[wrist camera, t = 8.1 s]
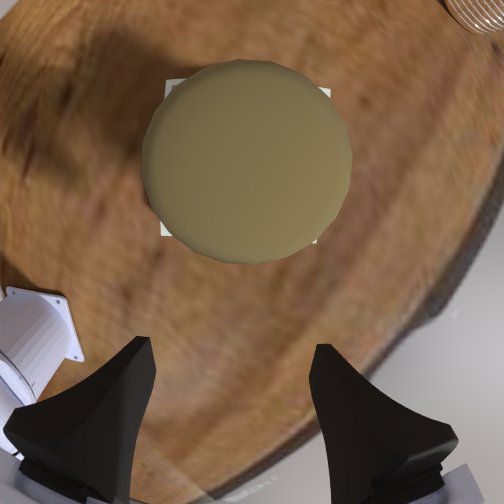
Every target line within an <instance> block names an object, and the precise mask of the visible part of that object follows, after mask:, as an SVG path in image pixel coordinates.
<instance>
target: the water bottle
mask: <svg viewBox="0 0 504 504" xmlns="http://www.w3.org/2000/svg"><path fill="white" fill-rule="evenodd" d="M443 2H444V4H445V6H446V7H447V9H448V10H449V12H450V13H451V14H452V16H453V17H454V18H455V19H456V20H457V21H458V22H459V23H460V24H461V25H462V26H463V27H464V28H465V29H467V30H468V31H470V32H472V33H474V34H479V35H481V34H487V33H491V32H495V31H499V30H502V29H504V0H443Z"/></svg>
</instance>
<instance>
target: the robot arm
mask: <svg viewBox="0 0 504 504" xmlns="http://www.w3.org/2000/svg"><path fill="white" fill-rule="evenodd" d="M6 292H7V297H6V298H5V299H3V300H2V301H1V302H0V501H1V502H2V503H3V504H129V497H130V481H131V470H132V463H133V456H134V450H135V444H136V439H137V435H138V431H139V427H140V424H141V422H142V419H143V416H144V413H145V410H146V407H147V404H148V401H149V398H150V396H151V393H152V389H153V385H154V380H155V375H156V367H155V362H154V357H153V352H152V346H151V341H150V337H143V336H136V337H135V338H134V339H133V340H132V341H131V342H129V343H128V344H127V345H126V346H125V347H124V348H123V349H122V350H121V351H119V352H118V353H117V354H116V355H115V356H114V357H113V358H112V359H110V360H109V361H108V362H107V363H106V364H104V365H103V366H102V367H101V368H99V369H98V370H97V371H95V372H94V373H93V374H92V375H90V376H89V377H87V378H86V379H84V380H83V381H81V382H80V383H78V384H76V385H75V386H73V387H71V388H69V389H67V390H65V391H63V392H61V393H59V394H57V395H55V396H53V397H50V398H48V399H45V400H43V401H40V402H36V401H37V399H38V397H39V396H40V394H41V393H42V391H43V389H44V388H45V386H46V385H47V383H48V382H49V380H50V379H51V377H52V376H53V374H54V373H55V371H56V370H57V368H58V367H59V365H60V364H61V362H62V361H63V359H64V358H68V359H72V360H76V361H80V362H83V360H84V356H83V353H82V350H81V347H80V344H79V341H78V338H77V335H76V332H75V328H74V325H73V322H72V318H71V315H70V311H69V307H68V303H67V300H66V298H65V297H63V296H59V295H53V294H47V293H41V292H36V291H30V290H25V289H20V288H15V287H10V286H8V287H7V288H6ZM58 300H59V301H58ZM309 383H310V389H311V395H312V399H313V403H314V406H315V410H316V413H317V416H318V420H319V423H320V426H321V430H322V433H323V437H324V440H325V446H326V452H327V459H328V467H329V475H330V487H331V504H483V503H484V502H485V500H484V498H483V496H482V494H481V492H480V489H479V487H478V485H477V483H476V481H475V479H474V477H473V475H472V473H471V471H470V469H469V467H468V465H467V464H463V465H461V466H460V467H458V468H456V469H454V470H452V471H450V472H448V473H447V474H445V475H444V476H441V474H440V471H442V469H443V467H442V465H441V462H442V461H443V460H444V459H445V458H446V457H447V456H448V455H449V454H450V453H451V452H452V451H453V450H454V449H455V448H456V446H457V444H458V438H457V436H456V434H455V433H454V431H453V429H452V427H451V426H450V425H449V424H446V423H442V422H439V421H436V420H433V419H430V418H427V417H425V416H423V415H421V414H418V413H416V412H414V411H412V410H410V409H408V408H406V407H404V406H403V405H401V404H399V403H397V402H396V401H394V400H392V399H391V398H390V397H388V396H387V395H385V394H384V393H382V392H381V391H380V390H378V389H377V388H376V387H375V386H373V385H372V384H371V383H370V382H369V381H367V380H366V379H365V378H364V377H363V376H362V375H361V374H360V373H359V372H357V371H356V370H355V369H354V368H353V367H352V366H351V365H350V364H349V363H348V362H347V361H346V360H345V359H344V358H343V356H342V355H341V354H340V353H339V352H338V351H337V350H336V349H335V348H334V347H333V346H332V345H331V344H317V346H316V350H315V354H314V358H313V362H312V366H311V370H310V374H309ZM21 460H23V461H21Z"/></svg>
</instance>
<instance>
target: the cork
mask: <svg viewBox="0 0 504 504" xmlns="http://www.w3.org/2000/svg"><path fill="white" fill-rule="evenodd" d="M352 158H353V156H352V151H351V146H350V141H349V137H348V132H347V128H346V125H345V123H344V121H343V119H342V118H341V116H340V114H339V112H338V111H337V109H336V107H335V106H334V104H333V102H332V101H331V99H330V98H329V96H328V95H326V94H325V93H324V92H323V91H322V90H321V89H320V88H319V87H317V86H316V85H315V84H314V83H313V82H312V81H310V80H309V79H308V78H307V77H306V76H304V75H303V74H301V73H298V72H296V71H294V70H291V69H289V68H286V67H284V66H281V65H279V64H276V63H274V62H269V61H257V60H241V59H237V60H232V61H228V62H224V63H220V64H216V65H212V66H209V67H205V68H203V69H201V70H200V71H198V72H196V73H195V74H193V75H192V76H190V77H188V78H187V79H185V80H184V81H182V82H181V83H179V84H178V85H176V86H175V87H174V88H173V89H172V91H171V92H170V93H169V94H168V95H167V97H166V98H165V99H164V100H163V102H162V103H161V104H160V105H159V107H158V108H157V109H156V110H155V112H154V114H153V116H152V119H151V121H150V124H149V127H148V129H147V132H146V135H145V138H144V141H143V143H142V179H143V183H144V186H145V189H146V193H147V196H148V199H149V202H150V205H151V208H152V209H153V211H154V212H155V213H156V215H157V216H158V218H159V219H160V221H161V222H162V223H163V225H164V226H165V228H166V229H167V230H168V232H169V233H170V234H171V235H173V236H174V237H175V238H176V239H178V240H179V241H180V242H182V243H183V244H184V245H186V246H187V247H188V248H190V249H191V250H192V251H194V252H195V253H198V254H201V255H203V256H206V257H209V258H212V259H214V260H217V261H220V262H223V263H230V264H249V265H258V264H262V263H266V262H270V261H275V260H279V259H283V258H287V257H289V256H291V255H292V254H294V253H296V252H297V251H299V250H301V249H302V248H304V247H306V246H307V245H309V244H311V243H312V242H314V241H315V240H316V239H317V238H318V237H319V236H320V235H321V234H322V233H323V231H324V230H325V229H326V228H327V227H328V226H329V225H330V224H331V223H332V221H333V220H334V219H335V218H336V217H337V214H338V212H339V210H340V208H341V206H342V203H343V201H344V199H345V197H346V195H347V192H348V190H349V186H350V177H351V168H352Z"/></svg>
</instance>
